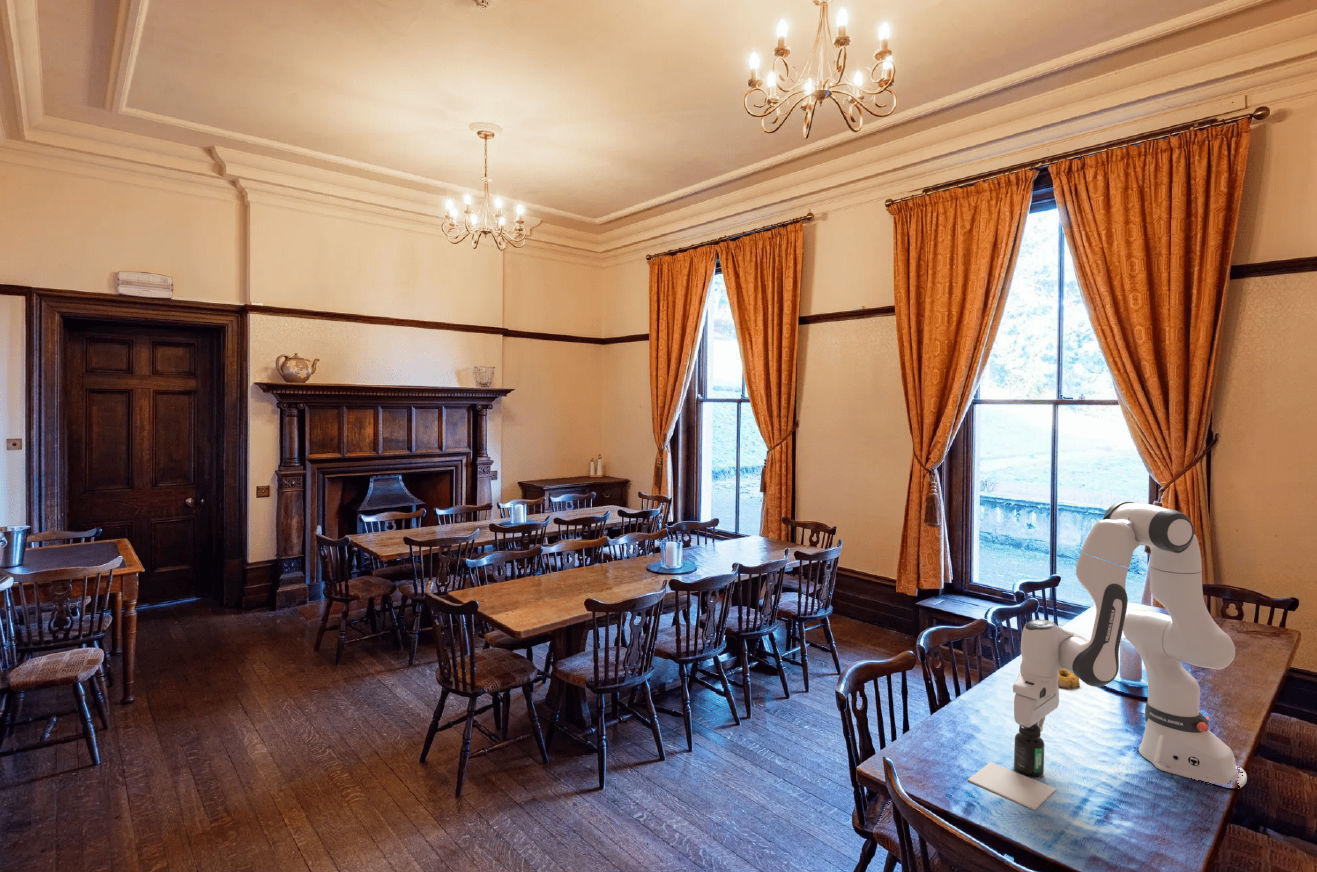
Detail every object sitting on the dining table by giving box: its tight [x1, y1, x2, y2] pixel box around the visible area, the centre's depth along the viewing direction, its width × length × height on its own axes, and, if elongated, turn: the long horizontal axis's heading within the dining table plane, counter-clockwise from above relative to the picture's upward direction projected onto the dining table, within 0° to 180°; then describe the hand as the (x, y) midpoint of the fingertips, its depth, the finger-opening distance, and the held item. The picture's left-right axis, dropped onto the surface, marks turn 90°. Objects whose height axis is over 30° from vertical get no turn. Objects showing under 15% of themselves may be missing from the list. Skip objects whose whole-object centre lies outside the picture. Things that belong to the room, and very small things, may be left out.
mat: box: [967, 761, 1057, 811], centre depth 167 cm, size 16×13×1 cm
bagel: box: [1058, 669, 1081, 689], centre depth 229 cm, size 10×11×5 cm
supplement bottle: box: [1013, 724, 1045, 779], centre depth 173 cm, size 7×7×12 cm
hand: (1036, 732), depth 176 cm, fingers closed
